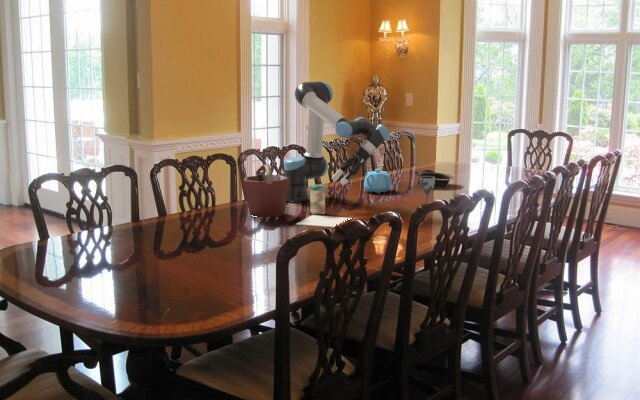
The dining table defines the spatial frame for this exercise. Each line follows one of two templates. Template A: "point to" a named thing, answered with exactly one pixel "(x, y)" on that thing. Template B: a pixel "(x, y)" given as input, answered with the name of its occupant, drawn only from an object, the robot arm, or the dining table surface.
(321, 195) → the teal and beige block
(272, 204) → the bucket
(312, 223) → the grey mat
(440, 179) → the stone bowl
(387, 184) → the decorative pot
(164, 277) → the dining table surface
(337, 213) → the dining table surface
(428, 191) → the wine glass
